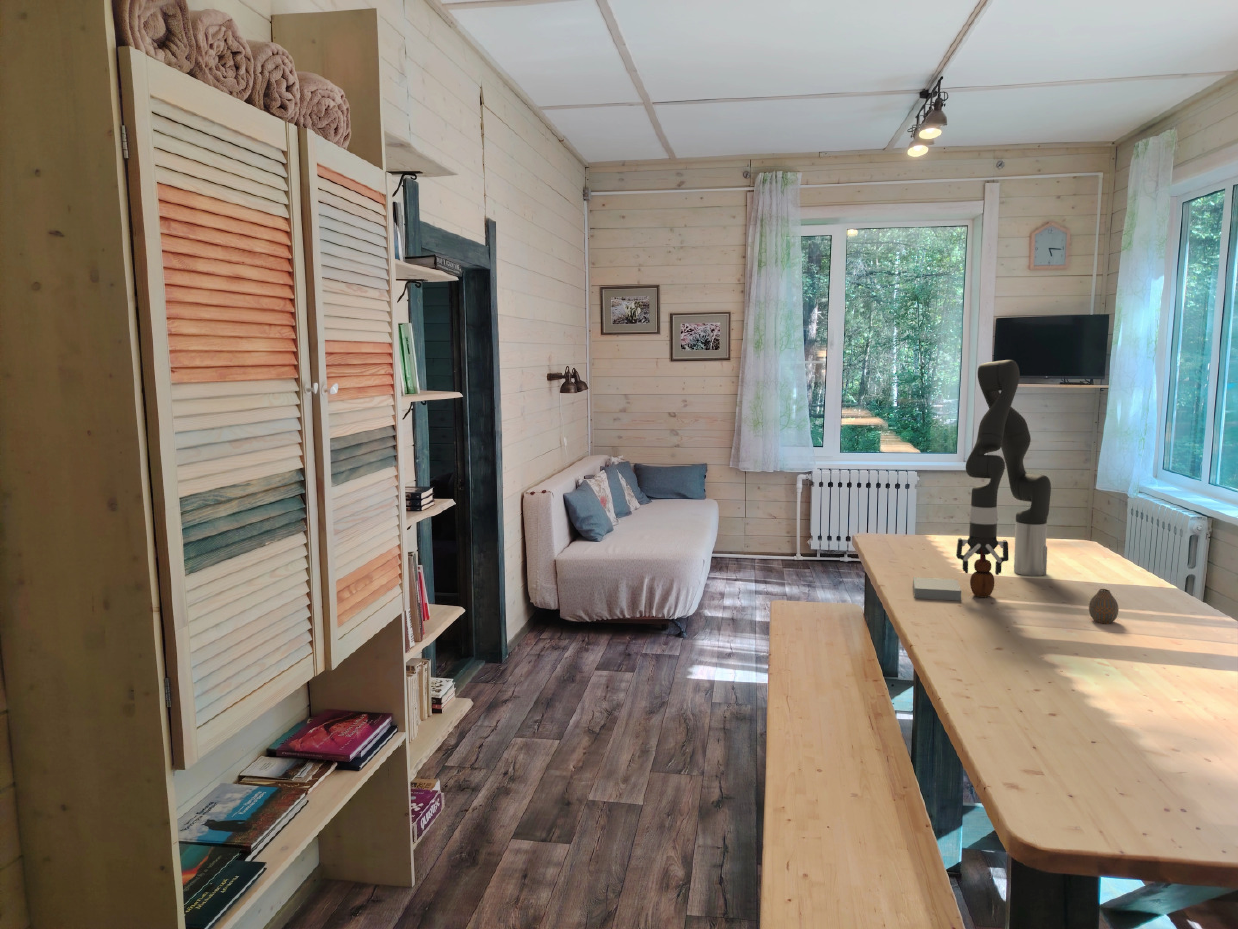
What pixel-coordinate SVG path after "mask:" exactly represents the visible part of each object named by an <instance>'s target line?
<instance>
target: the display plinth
mask: <svg viewBox="0 0 1238 929" xmlns="http://www.w3.org/2000/svg"><path fill="white" fill-rule="evenodd" d="M912 588H913V590H912V591H913V595H914V599H927V600H928V599H929V600H946V601H960V602H961V601H962V590H961V587H960V584H959V581H958V579H953V578H938V577H937V578H934V577H919V576H918V577H912Z"/></svg>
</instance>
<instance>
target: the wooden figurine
mask: <svg viewBox="0 0 1238 929" xmlns="http://www.w3.org/2000/svg"><path fill="white" fill-rule="evenodd" d="M986 556H987V555H985V554H982V549H981V553H980V554H979V559H976V560H975V561H974V562H973V563H974V564H973V568H974V570H975V571H974V572H973V573H972V574H971V576H970V579H969V585H970V589H971V591H972V594H973V595H974V596H976V597H979V598H988V597H990V596H991V595H992V593H993V591H994V588H995V577H994V574H993V573H992V572H991V570H992V562H991V561H990V559H989V560H988V559H987V558H986Z"/></svg>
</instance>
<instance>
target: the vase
mask: <svg viewBox="0 0 1238 929" xmlns="http://www.w3.org/2000/svg"><path fill="white" fill-rule="evenodd" d="M1110 590H1111V589H1107V588H1100V589H1099V590H1098V591H1097V592H1096V593H1095V594H1094V595H1093V596H1092V597H1091V599H1090V601H1089V603H1088V612H1089V615H1090V617H1091V619H1092V620H1093V621H1094V622H1096V623H1100V624H1111V623H1113V622H1115V621H1116V620H1117V618H1118V616H1119V611H1120V610H1119V609H1120V608H1119V604H1118V601H1117V599H1116V598H1115V597H1114V596H1113V595H1112V593H1111V591H1110Z"/></svg>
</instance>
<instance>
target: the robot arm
mask: <svg viewBox="0 0 1238 929" xmlns="http://www.w3.org/2000/svg"><path fill="white" fill-rule="evenodd" d="M1020 373H1021V372H1020V368H1019V365H1018V363H1017V362H1016V361H1015V360H1013V359H1005V360H1003V359H1002V360H996V361H990V362H989V361H988V362H983V363H981V364H980V365H979V366H978V368H977V379H978V380H977V382H978V384H979V387H980V390H981V392H982V395H983V397H984V399H985V401H986V405H987V407H988V410H987V411H986V412H985V413H984V415H983V416H982V418H981V420H980V423H979V425H978V431H977V436H976V441H975V444H974V446H973V449H972V451H971V452H970V454H969V455H968V458H967V460H966V461H965V462H966V464H965V471H966V473H967V475H968V476H969V477H971V478H974V479H990V480H989V482H988V483H987V484H984V485H976V486H974V487H972V489H971V500H970V501H971V504H970V510H969V530H968V532H969V534H968V539H965V538H964V539H963V538H962V537H961V538H960V537H959V538H958V539H957V544H956V556H955V557H956V558H957V559H958V560H960V561H962V570H963V572H964V573H965V574H968V573H969V559H970V558H972V556H974V554H976V555H980V553H981V549H982V554H985V556H987V555H989V554H991V555H992V557H993V558H994V559H995V560H996V561H995V570H994V571H995V575H996V576H999V574H1001V573H1002V564H1003V562H1008V561H1009V543H1008V541H1007V540H1006V539H1003V540H998V538H997V534H998V533H997V530H998V520H999V519H998V507H997V505H998V491H999V487H1000V483H1001V481H1002V477H1003V475H1004V472H1005V469H1006V472H1007V478H1008V483H1009V488H1010V491H1011V494H1012V497H1014V498H1015V499H1016V500H1019V501H1023V502H1028V503H1029V502H1030V507H1029V509H1027V510H1020V511H1018V512H1016V514H1015V524H1014V525H1015V526H1014V527H1015V528H1014V529H1015V530H1014V532H1015V533H1014V556H1013V559H1014V560H1013V572H1014V574H1019V575H1021V576H1030V577H1039V576H1040V577H1041V576H1047V570H1048V569H1047V568H1048V565H1047V564H1048V546H1047V525H1048V524H1047V523H1048V516H1049V512H1050V504H1051V495H1052V494H1051V492H1052V485H1051V480H1050V478H1049V477H1048V476H1047V475H1044V474H1037V473H1027V471H1026V470H1025V466H1024V458H1025V456H1026V453H1027V452H1028V450H1029V448H1030V445H1031V442H1032V441H1031V440H1032V439H1031V438H1032V437H1031V434H1030V430H1029V427H1028V424H1027V420H1026V419H1025V418H1024V416H1023V415H1022V414H1020V412H1019V411H1017V410H1016V409H1015V408H1014V407H1012V404H1013V401H1014V398H1015V396H1016V395H1015V394H1016V392H1017V390H1018V387H1019V382H1020V377H1021V376H1020ZM1000 449H1001V452H1002V455H1003V456H1001V455H996V454H988V453H993V452H997V451H999V450H1000ZM966 544H967V545H968V546H969V549H968V550H966V552H965V553H964V555H963V547H965V546H966ZM998 545H999V546H1000V549H1002V556H999V555H998V553H997V552H996V550H995V549H996V548H997V547H998Z"/></svg>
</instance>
